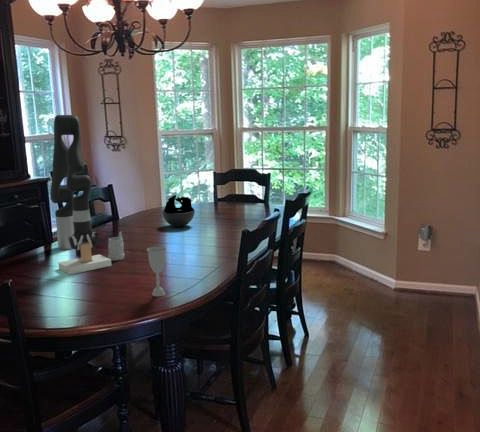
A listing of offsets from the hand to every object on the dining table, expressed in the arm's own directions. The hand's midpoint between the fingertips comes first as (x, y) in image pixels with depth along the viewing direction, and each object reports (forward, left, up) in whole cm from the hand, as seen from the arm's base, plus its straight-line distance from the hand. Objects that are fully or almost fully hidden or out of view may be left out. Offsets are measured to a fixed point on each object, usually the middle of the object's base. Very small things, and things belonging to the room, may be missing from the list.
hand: (84, 256), depth 234 cm
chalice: (+54, +6, -5) cm, 55 cm away
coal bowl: (-44, +80, -6) cm, 91 cm away
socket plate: (0, 0, -5) cm, 5 cm away
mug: (-5, +19, -6) cm, 20 cm away
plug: (0, 0, -2) cm, 2 cm away
